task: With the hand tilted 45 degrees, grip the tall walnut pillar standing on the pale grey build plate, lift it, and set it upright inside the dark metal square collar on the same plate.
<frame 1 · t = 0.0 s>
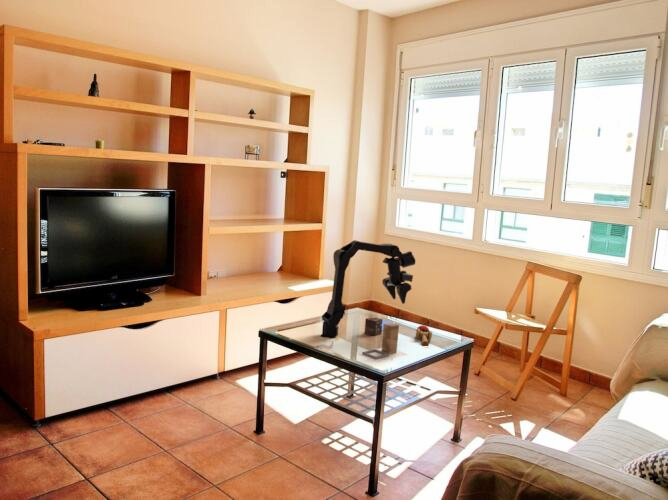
hand: (398, 301, 274), 15 cm above the table, tool pointing down, fingers open, 9 cm apart
kendama: (423, 342, 265), on the table
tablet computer: (380, 327, 286), on the table
pillar: (388, 352, 241), point 1 cm above the table, touching build plate
box: (372, 334, 271), on the table
build plate: (382, 356, 239), on the table
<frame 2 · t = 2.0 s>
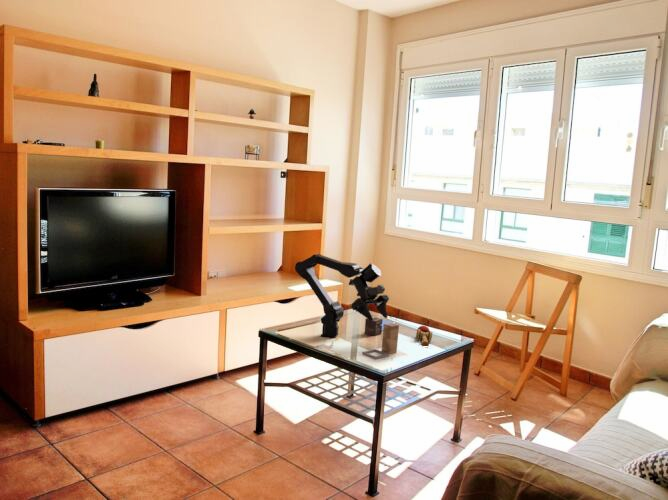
hand: (379, 319, 245), 13 cm above the table, tool tilted 45°, fingers open, 9 cm apart
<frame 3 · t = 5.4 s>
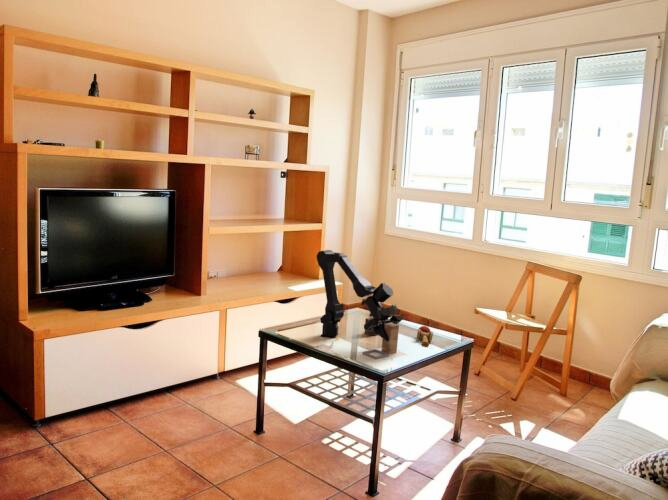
hand: (392, 340, 239), 7 cm above the table, tool tilted 45°, fingers closed on pillar, 4 cm apart
pillar: (388, 352, 241), point 1 cm above the table, touching build plate, gripper
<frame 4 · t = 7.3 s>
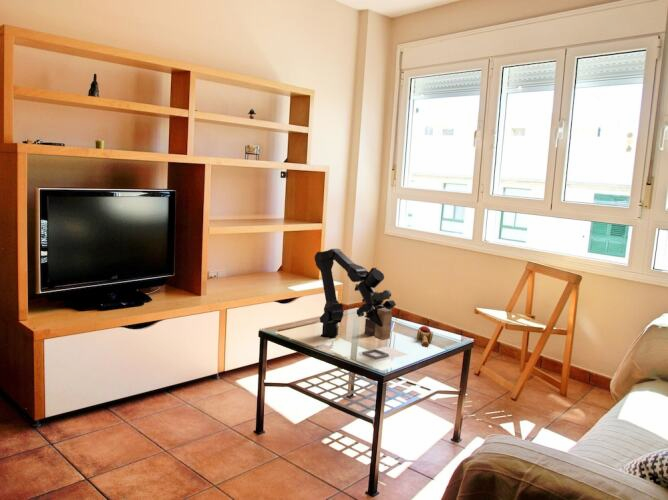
hand: (385, 325, 235), 13 cm above the table, tool tilted 45°, fingers closed on pillar, 4 cm apart
pillar: (382, 338, 237), point 8 cm above the table, touching gripper
when the fingers open (8 cm above the table, at t = 9.2 s): pillar drops 1 cm, resting on build plate.
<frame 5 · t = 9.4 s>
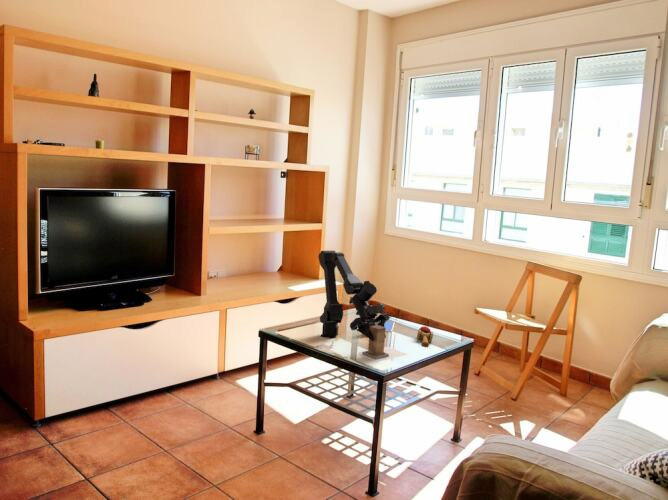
hand: (379, 339, 234), 8 cm above the table, tool tilted 45°, fingers open, 6 cm apart
pillar: (375, 355, 236), point 1 cm above the table, touching build plate
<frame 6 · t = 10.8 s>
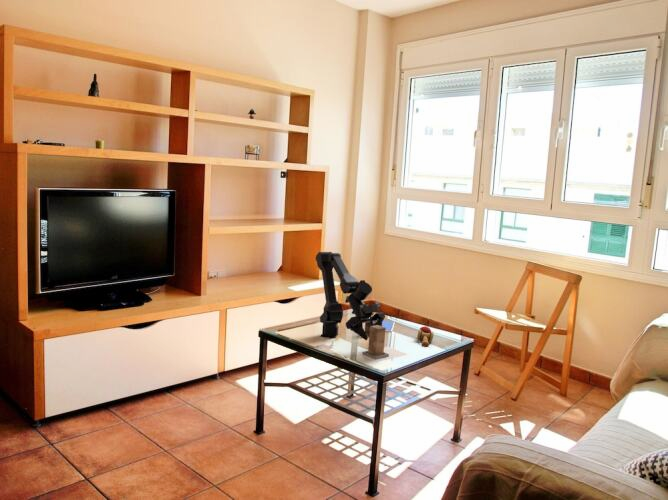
hand: (374, 338, 236), 8 cm above the table, tool tilted 45°, fingers open, 9 cm apart
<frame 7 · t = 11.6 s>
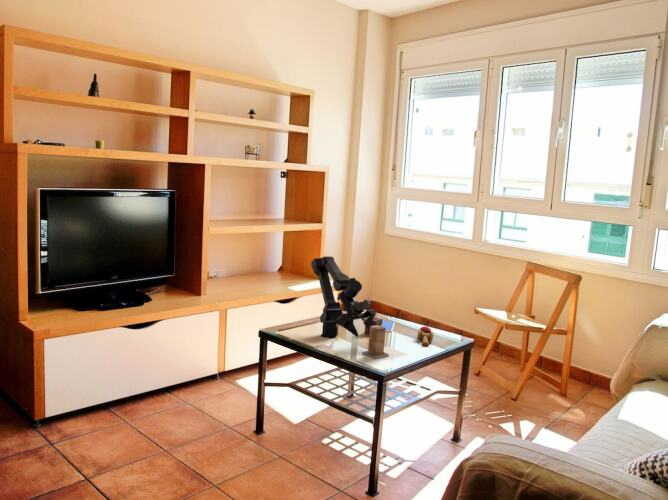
hand: (365, 334, 240), 8 cm above the table, tool tilted 45°, fingers open, 9 cm apart
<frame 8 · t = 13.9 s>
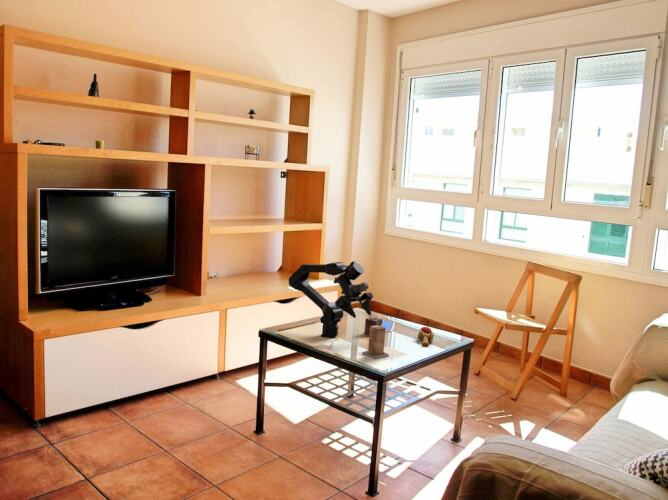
hand: (362, 316, 248), 14 cm above the table, tool tilted 45°, fingers open, 9 cm apart
at the end: pillar 0.1 cm from the target spot, point 1.0 cm above the table; pillar tilted 0°; the gripper is holding nothing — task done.
